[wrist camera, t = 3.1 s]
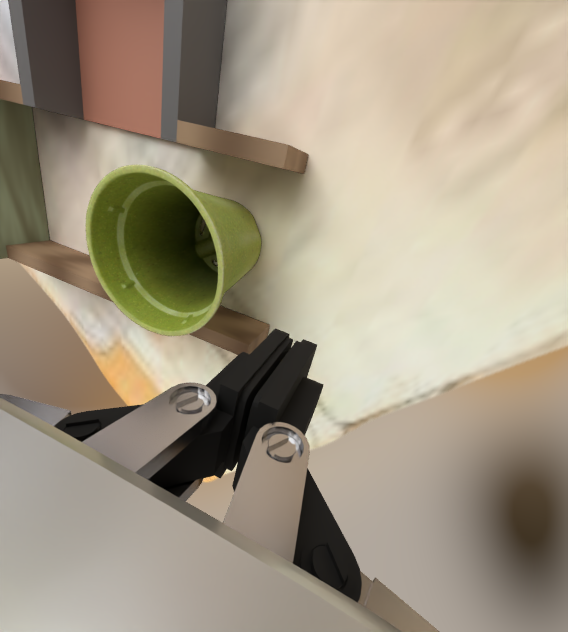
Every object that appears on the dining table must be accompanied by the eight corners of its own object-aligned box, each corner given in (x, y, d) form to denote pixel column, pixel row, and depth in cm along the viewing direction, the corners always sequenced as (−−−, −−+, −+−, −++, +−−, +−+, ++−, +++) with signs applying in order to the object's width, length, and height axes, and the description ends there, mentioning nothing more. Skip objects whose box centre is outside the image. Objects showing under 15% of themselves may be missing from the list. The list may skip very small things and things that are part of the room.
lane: (308, 154, 20) (274, 138, 14) (267, 336, 26) (233, 371, 21) (19, 87, 26) (-78, 60, 21) (43, 248, 32) (-27, 257, 27)
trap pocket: (236, -94, 16) (191, -172, 13) (212, 151, 22) (176, 142, 18) (59, -98, 19) (-16, -162, 16) (76, 117, 25) (23, 104, 21)
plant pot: (301, 205, 21) (244, 210, 13) (260, 313, 25) (200, 363, 18) (193, 156, 22) (87, 135, 15) (172, 266, 27) (82, 293, 19)
